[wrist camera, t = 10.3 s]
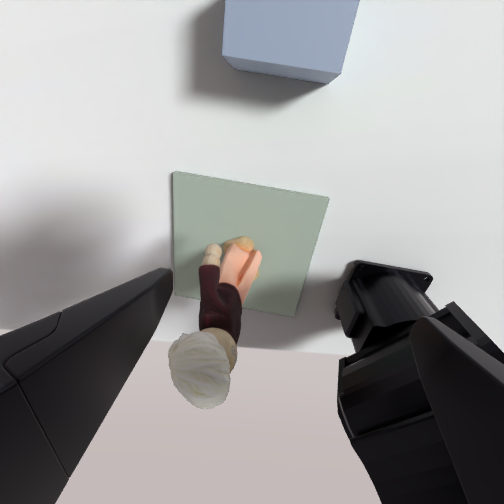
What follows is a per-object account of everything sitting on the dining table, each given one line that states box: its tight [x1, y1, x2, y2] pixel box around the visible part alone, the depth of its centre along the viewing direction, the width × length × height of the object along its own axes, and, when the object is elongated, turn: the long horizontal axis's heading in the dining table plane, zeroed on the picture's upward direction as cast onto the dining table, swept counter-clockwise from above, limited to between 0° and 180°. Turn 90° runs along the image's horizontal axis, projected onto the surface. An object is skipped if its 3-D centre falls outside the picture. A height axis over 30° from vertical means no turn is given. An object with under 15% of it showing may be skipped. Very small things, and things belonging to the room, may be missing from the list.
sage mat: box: [173, 171, 329, 317], centre depth 22 cm, size 12×12×1 cm
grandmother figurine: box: [168, 236, 262, 409], centre depth 16 cm, size 8×4×13 cm, turn 19°
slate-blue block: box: [222, 0, 360, 84], centre depth 13 cm, size 6×4×4 cm, turn 82°
